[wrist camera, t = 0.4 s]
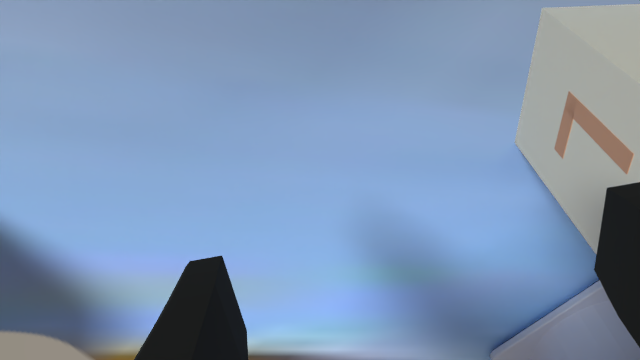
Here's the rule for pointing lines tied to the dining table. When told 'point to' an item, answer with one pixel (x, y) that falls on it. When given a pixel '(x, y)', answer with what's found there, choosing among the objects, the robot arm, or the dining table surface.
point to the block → (584, 108)
